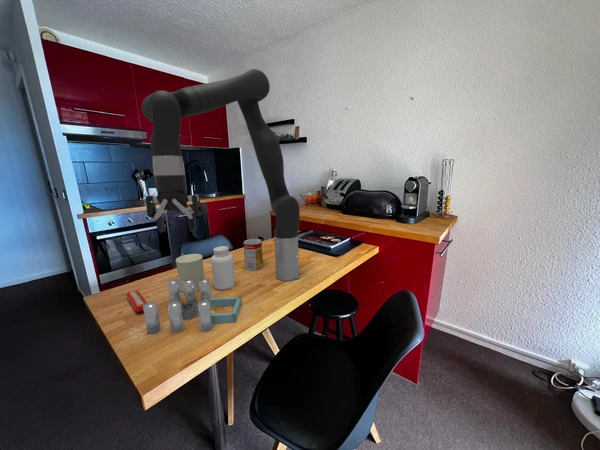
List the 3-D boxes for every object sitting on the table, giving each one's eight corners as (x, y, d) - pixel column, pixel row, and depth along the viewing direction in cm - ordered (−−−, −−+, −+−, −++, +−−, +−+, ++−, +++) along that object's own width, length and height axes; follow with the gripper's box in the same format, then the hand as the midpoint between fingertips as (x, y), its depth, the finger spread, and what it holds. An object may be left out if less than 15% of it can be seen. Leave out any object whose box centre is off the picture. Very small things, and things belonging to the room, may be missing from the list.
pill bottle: (215, 292, 90) (211, 253, 87) (212, 283, 97) (208, 246, 93) (237, 287, 94) (234, 249, 90) (232, 278, 100) (229, 243, 97)
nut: (201, 309, 79) (200, 300, 79) (194, 320, 74) (193, 311, 73) (185, 310, 79) (183, 301, 79) (177, 321, 74) (175, 311, 73)
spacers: (226, 298, 85) (224, 277, 83) (210, 331, 68) (207, 305, 67) (173, 301, 85) (170, 279, 83) (145, 334, 68) (140, 307, 66)
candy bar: (150, 311, 79) (149, 303, 78) (137, 316, 76) (135, 308, 76) (138, 294, 90) (136, 286, 89) (126, 298, 88) (124, 290, 87)
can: (184, 281, 99) (181, 253, 96) (208, 280, 100) (205, 252, 97) (175, 293, 90) (171, 262, 87) (201, 291, 91) (198, 260, 88)
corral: (241, 303, 82) (241, 297, 81) (235, 322, 72) (234, 314, 72) (210, 305, 82) (210, 298, 81) (200, 323, 72) (199, 316, 71)
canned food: (264, 263, 116) (263, 239, 113) (260, 270, 108) (259, 244, 105) (248, 263, 116) (246, 238, 114) (243, 270, 109) (241, 244, 106)
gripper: (201, 172, 71) (207, 227, 75) (151, 173, 71) (159, 228, 75) (190, 173, 64) (197, 234, 68) (134, 174, 64) (144, 235, 68)
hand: (177, 231), depth 71 cm, fingers open, 8 cm apart
